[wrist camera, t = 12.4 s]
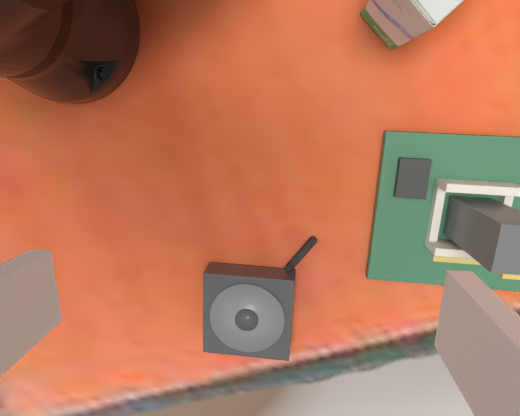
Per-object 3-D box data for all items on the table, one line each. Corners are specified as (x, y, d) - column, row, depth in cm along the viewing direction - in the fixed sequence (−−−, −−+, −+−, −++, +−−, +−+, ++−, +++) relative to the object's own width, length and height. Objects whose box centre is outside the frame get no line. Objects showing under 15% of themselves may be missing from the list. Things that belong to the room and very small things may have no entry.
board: (384, 130, 37) (394, 132, 33) (573, 139, 36) (606, 142, 32) (366, 275, 41) (372, 291, 37) (535, 288, 40) (560, 307, 36)
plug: (449, 195, 37) (501, 224, 27) (490, 197, 37) (558, 227, 27) (441, 238, 38) (489, 280, 29) (481, 240, 38) (543, 284, 28)
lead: (312, 234, 41) (313, 236, 40) (318, 238, 41) (318, 241, 40) (283, 267, 42) (283, 270, 41) (289, 271, 42) (289, 274, 41)
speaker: (210, 262, 43) (202, 275, 39) (295, 269, 42) (294, 283, 38) (209, 336, 45) (201, 355, 42) (289, 344, 44) (288, 364, 41)
